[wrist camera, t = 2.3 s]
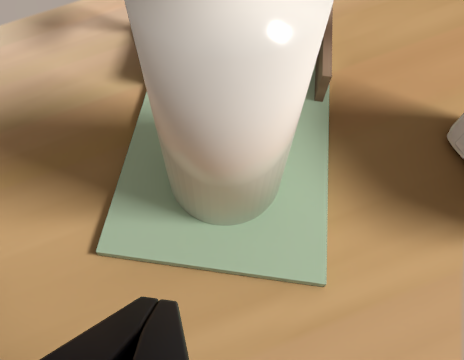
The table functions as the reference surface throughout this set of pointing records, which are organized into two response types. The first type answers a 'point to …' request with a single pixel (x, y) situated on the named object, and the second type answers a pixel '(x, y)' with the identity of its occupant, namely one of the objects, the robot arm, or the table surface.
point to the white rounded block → (227, 95)
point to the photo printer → (457, 136)
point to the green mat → (233, 236)
